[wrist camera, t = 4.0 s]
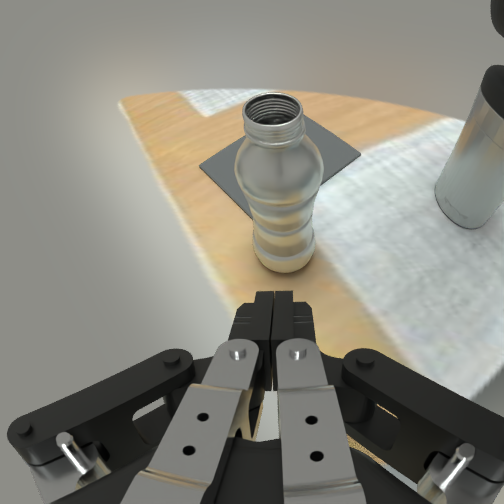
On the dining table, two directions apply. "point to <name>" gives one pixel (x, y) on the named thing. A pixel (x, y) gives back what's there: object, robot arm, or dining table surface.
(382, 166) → the dining table surface
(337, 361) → the robot arm
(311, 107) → the dining table surface
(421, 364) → the dining table surface
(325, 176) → the rubber mat
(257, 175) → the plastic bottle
